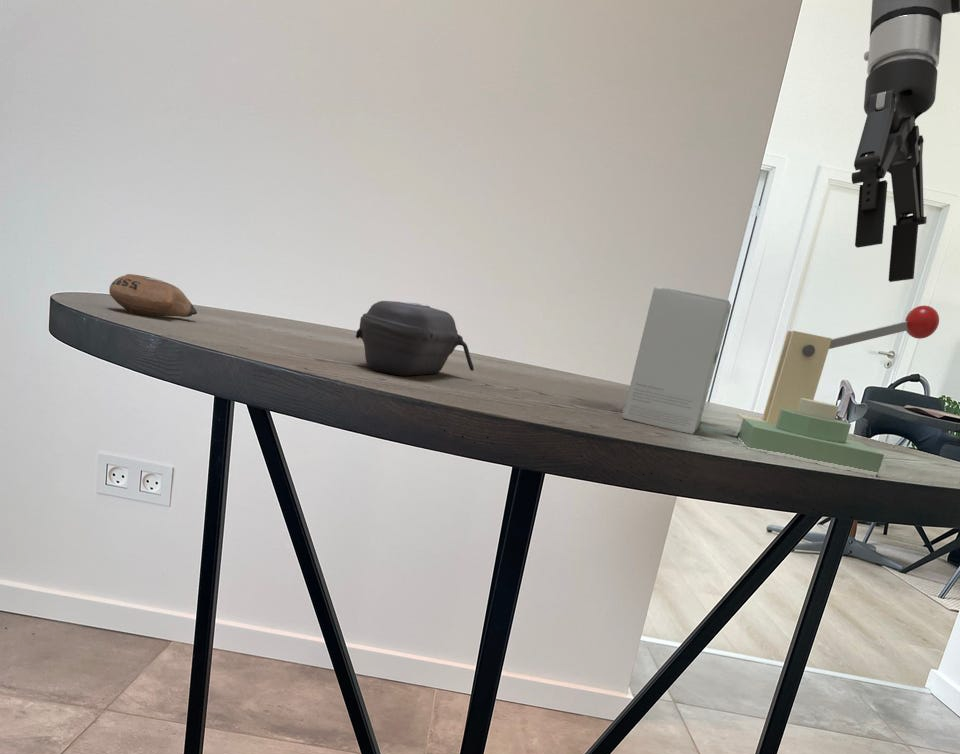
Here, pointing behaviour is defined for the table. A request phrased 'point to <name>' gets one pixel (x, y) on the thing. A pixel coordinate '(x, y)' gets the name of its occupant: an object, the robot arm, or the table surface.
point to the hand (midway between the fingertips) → (885, 263)
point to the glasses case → (408, 338)
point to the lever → (897, 327)
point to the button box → (810, 440)
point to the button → (817, 409)
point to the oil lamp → (150, 297)
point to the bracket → (795, 373)
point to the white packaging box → (676, 359)
